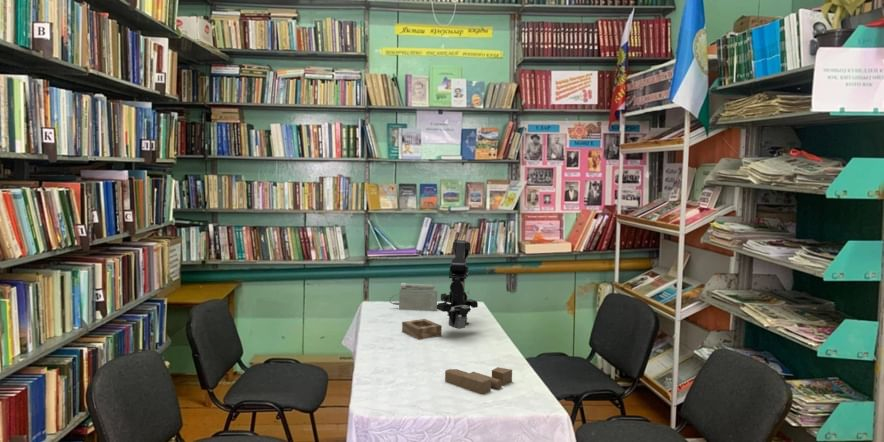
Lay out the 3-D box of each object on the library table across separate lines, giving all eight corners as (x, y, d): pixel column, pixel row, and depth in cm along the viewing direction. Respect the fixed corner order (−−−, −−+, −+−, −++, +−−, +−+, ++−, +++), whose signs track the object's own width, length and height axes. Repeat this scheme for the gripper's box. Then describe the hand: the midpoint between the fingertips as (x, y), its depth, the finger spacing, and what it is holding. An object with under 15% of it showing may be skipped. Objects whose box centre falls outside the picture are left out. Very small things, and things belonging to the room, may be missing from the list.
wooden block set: (485, 380, 199) (444, 367, 211) (484, 396, 200) (443, 383, 212) (514, 367, 212) (474, 356, 224) (514, 383, 212) (474, 371, 224)
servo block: (454, 323, 276) (454, 311, 275) (467, 328, 268) (467, 316, 267) (447, 324, 274) (447, 312, 273) (459, 329, 265) (460, 317, 265)
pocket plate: (424, 328, 280) (424, 318, 280) (441, 335, 269) (441, 325, 268) (402, 331, 274) (402, 321, 273) (418, 339, 262) (418, 329, 262)
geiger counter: (438, 283, 317) (390, 281, 320) (436, 285, 311) (388, 283, 313) (437, 309, 318) (390, 307, 321) (436, 312, 312) (388, 310, 314)
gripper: (464, 284, 281) (463, 317, 282) (430, 288, 271) (429, 322, 272) (478, 289, 272) (478, 323, 273) (444, 293, 261) (443, 328, 263)
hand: (457, 324), depth 270 cm, fingers closed on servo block, 4 cm apart
